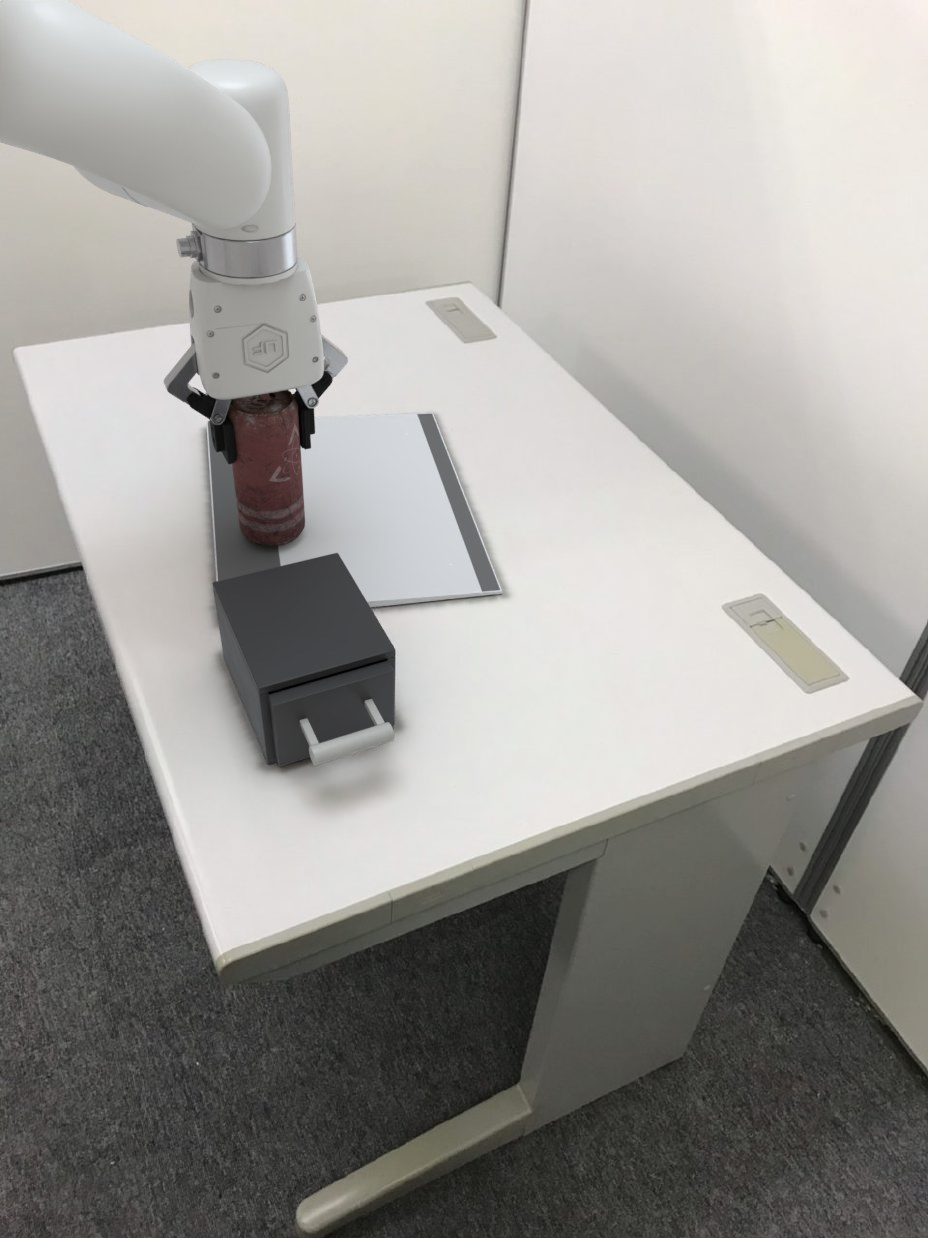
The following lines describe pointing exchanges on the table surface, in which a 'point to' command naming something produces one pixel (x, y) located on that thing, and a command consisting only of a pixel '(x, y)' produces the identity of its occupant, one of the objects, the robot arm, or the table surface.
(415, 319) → the table surface
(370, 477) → the white grey flat panel
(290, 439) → the can
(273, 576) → the dark grey cabinet
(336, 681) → the drawer
